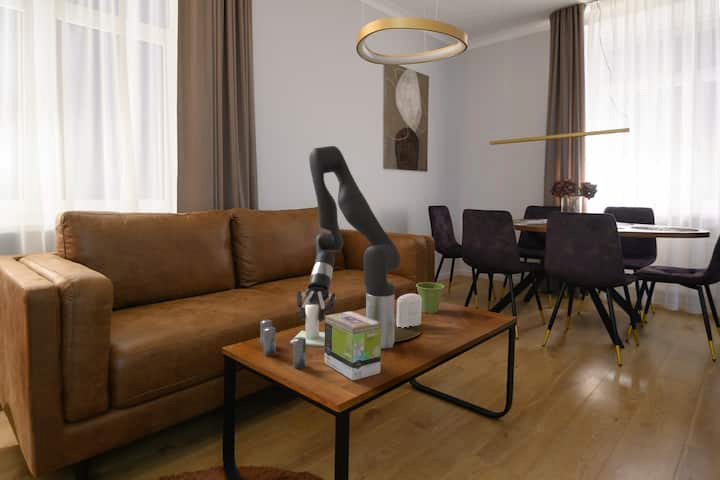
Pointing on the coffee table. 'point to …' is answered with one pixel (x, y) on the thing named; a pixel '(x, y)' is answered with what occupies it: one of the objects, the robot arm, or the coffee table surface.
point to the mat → (314, 342)
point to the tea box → (353, 344)
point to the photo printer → (409, 310)
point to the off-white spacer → (312, 321)
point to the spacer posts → (270, 344)
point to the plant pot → (430, 296)
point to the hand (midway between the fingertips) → (311, 320)
